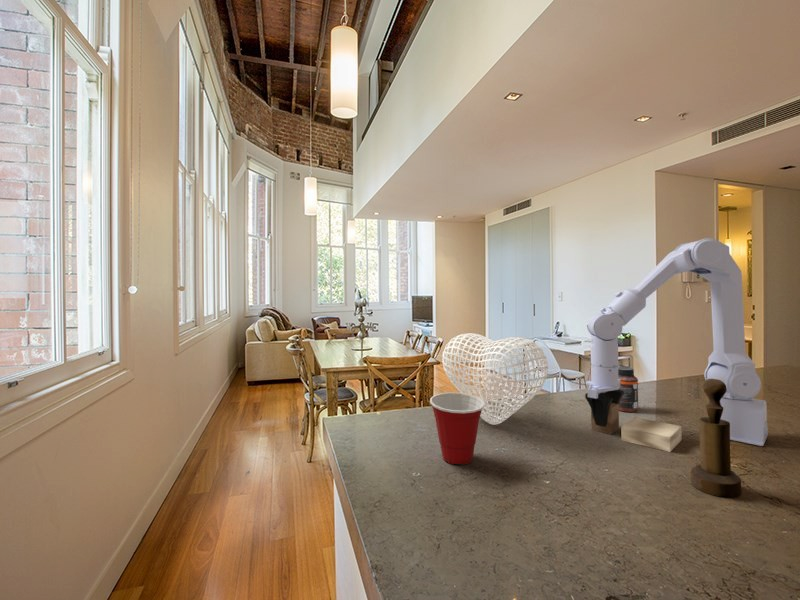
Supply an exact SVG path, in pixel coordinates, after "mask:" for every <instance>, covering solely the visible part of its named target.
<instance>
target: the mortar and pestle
mask: <svg viewBox="0 0 800 600" xmlns="http://www.w3.org/2000/svg"><path fill="white" fill-rule="evenodd" d="M702 389H703V391H704V393H705V395H706V396H707V397H708V404H706V405H705V411H706V413H707V416H708V417H700V418H699V420H698V421H699V424H698V425H699V453H700V454H699V457H700V458H699V461H700V463H698V464H697V465H695V466H693V467H691V469H690V482H691V483H690V484H691V485H692V487H694V488H695V489H697V490H698V491H700V492H702V493H705V494H708V495H711V496H717V497H720V498H721V497H722V498H738V497H740V496H741V495H742V479H741V477H740V476H739V475H737V474H736V473H735V471H733V470H732V468H731V467H732V466H731V463H732V462H731V440H730V423H729V422H728V421H725V420H722V419H721V416H722V413H723V407H722V406H721V404H720V400H721V398H722V397H723V396H724V394H725V393H726V390H727V388H726V385H725V383H724V382H723V381H721V380H718V379H707V380H705V381H704V382H703V384H702Z"/></svg>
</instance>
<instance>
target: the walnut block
mask: <svg viewBox="0 0 800 600" xmlns="http://www.w3.org/2000/svg"><path fill="white" fill-rule="evenodd" d="M590 418H591V420H590V421H591V422H590V425H591V426H590V427H591V431H596V432H601V433H604V434H608V435H613V434H615V433H616V432H618V431H619V430H620V411H619V404H615V403H611V405H610V408H609V412H608V419H607V424H606V426H605V427H604V426H599V425H596V424H595V420H594V417H593V413H592V410H591V409H590Z"/></svg>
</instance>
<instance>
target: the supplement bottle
mask: <svg viewBox="0 0 800 600" xmlns="http://www.w3.org/2000/svg"><path fill="white" fill-rule="evenodd" d="M618 379H620V387H619V389H618V390H622V391H624V394H623V396H622V398H621V400H620V402H619V412H627V413H634V412H635V413H636V412H637V411H638V410H639V379H638V378H637V377H636V376H635V375H634V368H632V367H625V366H621V367H619V366H618Z"/></svg>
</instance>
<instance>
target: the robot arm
mask: <svg viewBox="0 0 800 600" xmlns="http://www.w3.org/2000/svg"><path fill="white" fill-rule="evenodd" d="M684 272H685V273H686V272H691V273H694V274H697V275H698V276H700V277H702V278H703V279H705V280H706V281H708V282H709V283H710V301H711V323H712V324H711V325H712V343H713V344H712V345H713V351H712V352H711V354H709V356H708V359H707V360H708V363H707V367H706V368H705V370H704V374H703V375H704V379H705V381H706V380H707V379H718V380H721V381H723V382H724V383H725V385H726V388H727V390H726V393H725V394H724V396H723V397H722V398H721V400H720V404H721V406H722V407H723V413H722V416H721V419H722V420H725V421H728V422H729V423H730V441H734V442H738V443H739V442H740V443H745V444H750V445H754V446H759V447H764V445H765V442H766V440H767V437H768V435H769V427H768V423H767V422H768V415H767V414H768V413H767V412H768V409H767V408H768V407H767V401H766V400H764V399H758V398H755V397H756V396H757V395H758V393H759V392H760V391H761V388H762V380H761V377H759V375H758V373H757V371H756V364H755V362H754V361H753V360H752V359H751V357H750V356H749V355H748V354H747V353H746V338H745V320H744V319H745V318H744V317H745V316H744V314H745V313H744V299H743V298H744V297H743V294H744V293H743V276H742V270H741V268H740V266H739V265H738V264H737V262H736V260H735V259H734V258H733V257H732V255H731V253H730V246H729V245H727V244H726V243H724V242H722V241H720V240H718V239H716V238H713V237H712V238H711V237H705V238H702V239H700V240H695V241H691V242H684V243H682V244H679V245H678V246H676V248H675V249H674V250H673V251H671V252H669V253H668V254H667V255H666V256H665V257H664V258H663V259H662V260H661V261H660V262H659V263H658V264H657V265H656V266H655V267H654V268H653V269H652V270H651V271H650V272H649V273H648V274H647V275H646V276H645V277H644V278H643V279H642V280H641V281H640V282H639V283H638V284H637V285H636V286H635V287H634V288H632V289H630V288H629V289H624V290H622V291H618V292H616V293H615V294H614V296H615V298H614V299H613V300H612V301H610V303H608V305H606V307H601V308H600V309H599V311H600V313H598V314H597V313H596V314H594V315H593V316H592V317H591V318H590V319H589V320H588V324H587V325H586V328H587V332H588V333H589V334H590V380H588V381H587V380H586V382H585V384H586V385H587V386H589V387H588V388H587V393H585V394H584V397H585V400H586V401H587V403H588V405H589V406H590V411H591V410H592V413H593V417H594V420H595V424H596V425H599V426H604V427H605V426H606V424H607V419H608V412H609V408H610V405H611V403H615V404H619V402H620V400H621V398H622V396H623V394H624V391H622V390H618V389H619V387H620V379H618V367H619V345H618V343H619V342H618V339H619V338H618V337H619V336H621V334H622V332H623V326H626V325H627V324H628V323H629V322H630V321H631V320H633V319H634V317H635V318H636V316H637V315H638V314H639V313H640V312H642V310H644V309H645V308H646V305H647V304H646V303H647V298H649V296H651V295H652V294H654V293H655V292H656V291H657V290H658V289H659V288H660V287H662V286H663V285H664V284H665V283H666V282H668V281H669V280H670V279H671V278H672V277H674V276H675V275H677V274H682V273H684Z"/></svg>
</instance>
